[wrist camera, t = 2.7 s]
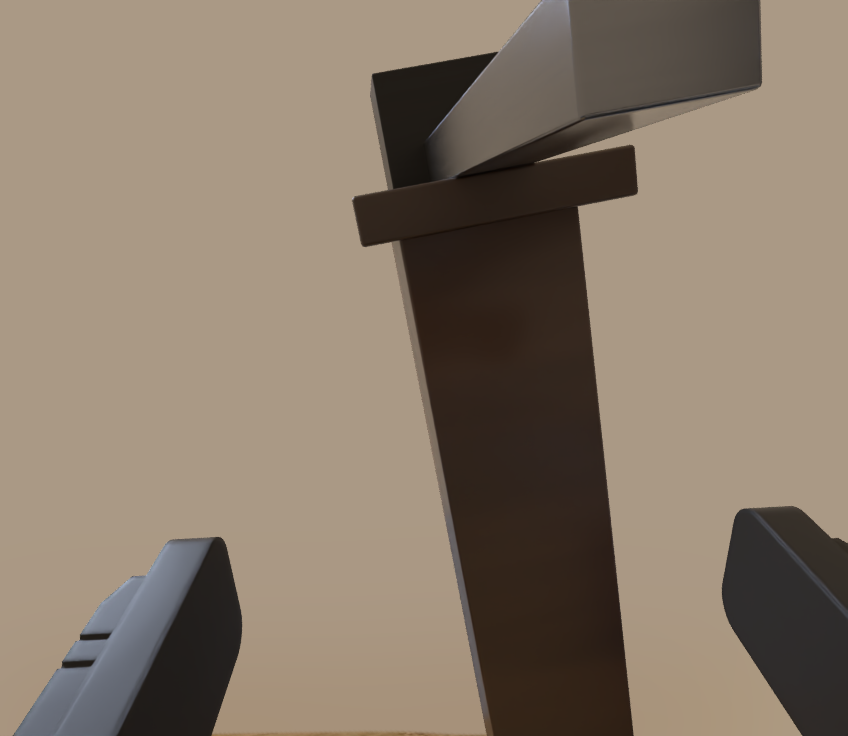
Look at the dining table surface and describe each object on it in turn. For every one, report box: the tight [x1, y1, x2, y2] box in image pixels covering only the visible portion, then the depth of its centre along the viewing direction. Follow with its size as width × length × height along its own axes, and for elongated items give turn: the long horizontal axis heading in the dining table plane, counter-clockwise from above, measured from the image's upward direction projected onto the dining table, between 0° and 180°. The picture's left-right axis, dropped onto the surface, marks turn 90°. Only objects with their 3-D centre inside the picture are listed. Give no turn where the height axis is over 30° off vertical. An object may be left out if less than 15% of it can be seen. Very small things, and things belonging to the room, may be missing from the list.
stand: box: [352, 145, 638, 736], centre depth 22 cm, size 8×7×32 cm
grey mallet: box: [370, 0, 762, 190], centre depth 13 cm, size 16×4×4 cm, turn 6°
